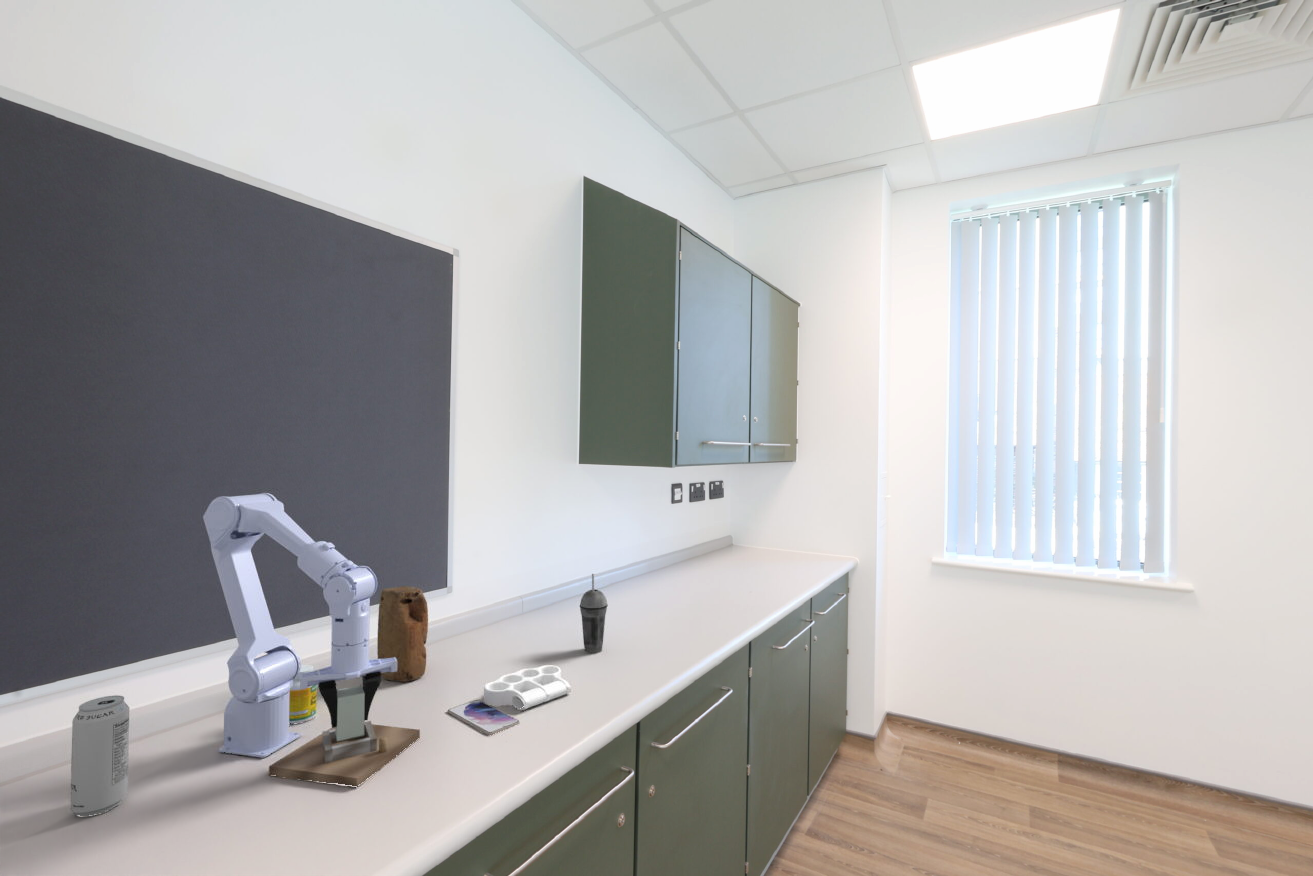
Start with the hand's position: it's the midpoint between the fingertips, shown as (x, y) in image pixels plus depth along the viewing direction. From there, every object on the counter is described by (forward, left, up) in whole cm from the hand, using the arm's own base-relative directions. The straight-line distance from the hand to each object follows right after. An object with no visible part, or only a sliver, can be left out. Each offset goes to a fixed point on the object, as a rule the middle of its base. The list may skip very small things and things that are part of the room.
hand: (349, 721), depth 100 cm
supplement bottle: (-19, +10, -6) cm, 22 cm away
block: (-13, +33, -6) cm, 36 cm away
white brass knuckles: (+19, +30, -6) cm, 36 cm away
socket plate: (0, 0, -6) cm, 6 cm away
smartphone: (+15, +18, -6) cm, 24 cm away
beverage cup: (+24, +59, -6) cm, 64 cm away
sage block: (0, 0, -2) cm, 2 cm away
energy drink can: (-25, -20, -6) cm, 33 cm away
